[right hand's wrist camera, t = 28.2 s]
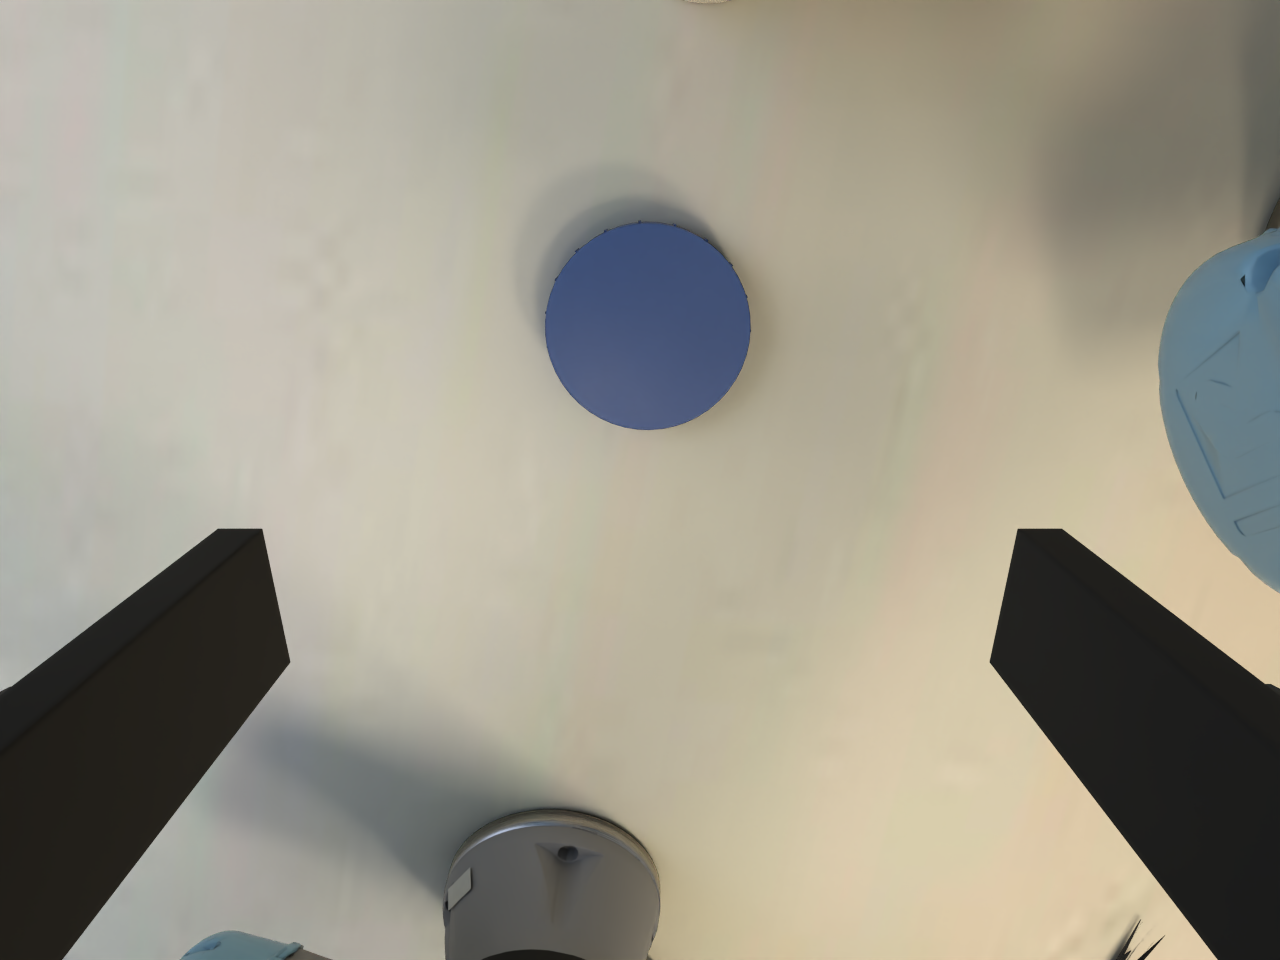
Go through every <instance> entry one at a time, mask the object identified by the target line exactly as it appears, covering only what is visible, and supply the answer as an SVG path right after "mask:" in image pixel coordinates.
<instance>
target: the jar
mask: <svg viewBox="0 0 1280 960" xmlns="http://www.w3.org/2000/svg"><path fill="white" fill-rule="evenodd" d="M685 1H689V2H694V3H704V4H707V3H720V2H725V1H730V0H685Z"/></svg>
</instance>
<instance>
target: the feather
mask: <svg viewBox="0 0 1280 960" xmlns="http://www.w3.org/2000/svg"><path fill="white" fill-rule="evenodd" d="M1140 921H1141V920H1140ZM1140 921H1139V923H1140ZM1139 923H1138V924H1137V926H1136V928H1135V929H1134V931H1133V933H1132V934H1131V936H1130V938H1129V939H1128V941H1127V943H1126V944H1125V946H1124V948H1123V949H1122V951H1121V953H1120V954H1119V956H1118V958H1117V959H1116V960H1125V959H1126V958H1127V956H1128V955H1129V953H1130V952H1131V951H1129V952H1127V953H1126V954H1125V952H1126V950H1127V948H1128V945H1129V943H1130V941H1131V939H1132V937H1133V935H1134V933H1135V931H1136V929H1137V927H1138V925H1139ZM1137 930H1138V929H1137ZM1162 938H1163V937H1162ZM1162 938H1161V939H1160V940H1159V941H1158V942H1157V943H1156V944H1155V945H1153V946H1152V947H1151V948H1150V949H1149V950H1148V951H1147V950H1146V951H1147V952H1146V953H1145V954H1143V955H1142V956H1141V957H1140V958H1139V959H1138V960H1144V959H1145V958H1146V957H1147V956H1148V955H1149V954H1150V952H1151V951H1152V950H1153V949H1154V948H1155V947H1156V945H1157V944H1158V943H1159V942H1160V941H1161V940H1162ZM1150 946H1151V945H1150ZM1135 949H1136V948H1135ZM1133 952H1134V951H1133ZM1130 956H1131V955H1130ZM1128 959H1129V958H1128Z"/></svg>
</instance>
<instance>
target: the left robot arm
mask: <svg viewBox="0 0 1280 960" xmlns="http://www.w3.org/2000/svg"><path fill="white" fill-rule="evenodd" d="M1158 368H1159V378H1160V385H1159V393H1160V405H1161V410H1162V416H1163V421H1164V425H1165V429H1166V433H1167V437H1168V441H1169V444H1170V447H1171V450H1172V453H1173V456H1174V458H1175V461H1176V464H1177V466H1178V469H1179V471H1180V473H1181V476H1182V478H1183V480H1184V482H1185V484H1186V487H1187V488H1188V490H1189V492H1190V494H1191V496H1192V498H1193V500H1194V502H1195V503H1196V505H1197V507H1198V508H1199V510H1200V512H1201V513H1202V515H1203V517H1204V518H1205V520H1206V521H1207V523H1208V524H1209V526H1210V527H1211V528H1212V530H1213V531H1214V533H1215V534H1216V535H1217V537H1218V538H1219V539H1220V540H1221V541H1222V543H1223V544H1224V545H1225V546H1226V547H1227V548H1228V550H1229V551H1230V552H1231V553H1232V554H1233V555H1235V556H1237V557H1239V558H1240V559H1241V560H1242V562H1243V563H1244V564H1245V565H1246V566H1247V568H1248V569H1249V570H1250V571H1251V572H1252V573H1253V574H1254V575H1255V576H1256V577H1258V578H1259V579H1260V580H1261V581H1263V582H1264V583H1265V584H1266V585H1268V586H1269V587H1271V588H1272V589H1274V590H1275V591H1277V592H1278V593H1280V199H1279V201H1278V203H1277V204H1276V207H1275V209H1274V211H1273V213H1272V216H1271V218H1270V220H1269V223H1268V225H1267V228H1266V231H1265V232H1264V233H1263V234H1262V235H1260V236H1259V237H1257V238H1255V239H1252V240H1249V241H1247V242H1244V243H1241V244H1239V245H1236V246H1233V247H1231V248H1228V249H1226V250H1224V251H1222V252H1220V253H1218V254H1216V255H1214V256H1213V257H1211V258H1210V259H1208V260H1207V261H1205V262H1204V263H1203V264H1202V265H1201V266H1200V267H1198V268H1197V269H1196V270H1195V271H1194V272H1193V273H1192V274H1191V275H1190V277H1189V278H1188V279H1187V280H1186V281H1185V283H1184V284H1183V286H1182V287H1181V288H1180V290H1179V292H1178V293H1177V295H1176V297H1175V299H1174V301H1173V303H1172V305H1171V307H1170V309H1169V312H1168V315H1167V317H1166V320H1165V324H1164V327H1163V331H1162V336H1161V342H1160V348H1159V358H1158Z"/></svg>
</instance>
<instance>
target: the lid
mask: <svg viewBox="0 0 1280 960" xmlns="http://www.w3.org/2000/svg"><path fill="white" fill-rule="evenodd" d="M575 252H576V254H575V255H574V256H573V257H572V258H571V259H570V260H569V261H568V263H567V264H566V265H565V267H564V268H563V269H562V271H561V273H560V274H559V276H558V277H557V278H556V279H555V281H556V282H555V284H554V286H553V289H552V291H551V294H550V298H549V301H548V305H547V311H546V312H545V314H546V319H545V335H546V342H547V348H548V352H549V356H550V359H551V362H552V365H553V367H554V369H555V372H556V374H557V376H558V377H559V379H560V381H561V383H562V384H563V386H564V387H565V388H566V390H567V391H568V392H569V393H570V395H571V396H572V397H573V398H574V399H575V400H576V401H577V402H578V403H579V404H580V405H582V406H583V407H584V408H585V409H587V410H588V411H589V412H591V413H592V414H594V415H596V416H597V417H599V418H601V419H603V420H605V421H607V422H610V423H612V424H615V425H618V426H622V427H626V428H632V429H640V430H655V429H664V428H669V427H674V426H677V425H680V424H683V423H686V422H688V421H690V420H692V419H694V418H696V417H698V416H700V415H701V414H703V413H704V412H706V411H707V410H709V409H710V408H711V407H712V406H714V405H715V404H716V403H717V402H718V401H719V400H720V399H721V398H722V397H723V396H724V395H725V394H726V393H727V392H728V390H729V389H730V387H731V386H732V384H733V383H734V382H735V380H736V378H737V376H738V374H739V372H740V371H741V369H742V366H743V364H744V361H745V358H746V355H747V350H748V346H749V340H750V332H751V329H750V312H749V306H748V301H747V295H746V294H745V291H744V289H743V286H742V284H741V282H740V280H739V278H738V276H737V274H736V273H735V271H734V269H733V268H732V266H733V265H732V264H731V263H730V262H728V261H727V260H726V259H725V258H724V256H723V255H722V254H721V253H720V252H719V251H718V250H716V249H715V248H714V247H713V246H712V245H711V244H709V243H708V240H707V239H706V238H704V239H702V238H701V237H699V236H698V235H696V234H694V233H692V232H690V231H688V230H686V229H683V228H680V227H677V226H676V224H674V223H673V225H670V224H665V223H660V222H641V220H639V221H638V223H630V224H626V225H622V226H618V227H616V228H613V229H611V230H608V229H606V230H604V233H602V234H600V235H599V236H597V237H595V238H594V239H592V240H591V241H590V242H588V243H587V244H586V245H584V246H583V247H582V248H581V249H579V248H578V249H577V250H576V251H575Z"/></svg>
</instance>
